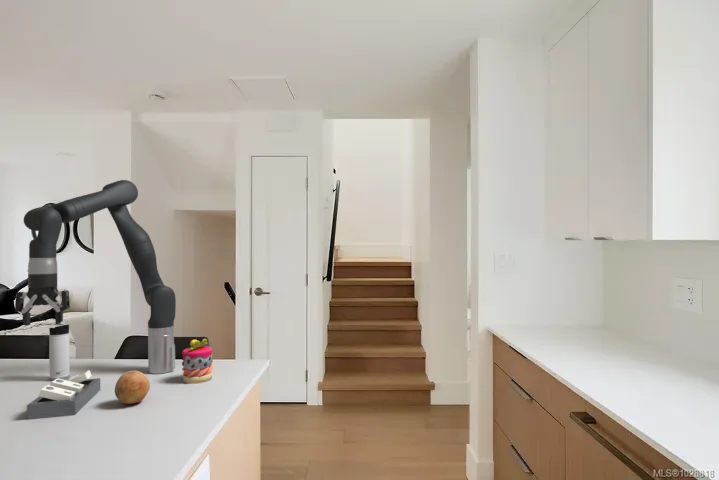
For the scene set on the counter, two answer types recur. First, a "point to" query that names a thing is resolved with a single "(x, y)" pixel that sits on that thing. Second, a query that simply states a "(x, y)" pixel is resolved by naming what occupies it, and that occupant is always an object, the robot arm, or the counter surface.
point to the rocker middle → (67, 385)
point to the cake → (197, 362)
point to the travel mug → (59, 352)
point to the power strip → (63, 402)
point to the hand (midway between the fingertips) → (42, 324)
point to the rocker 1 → (56, 393)
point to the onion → (132, 387)
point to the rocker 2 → (80, 377)
